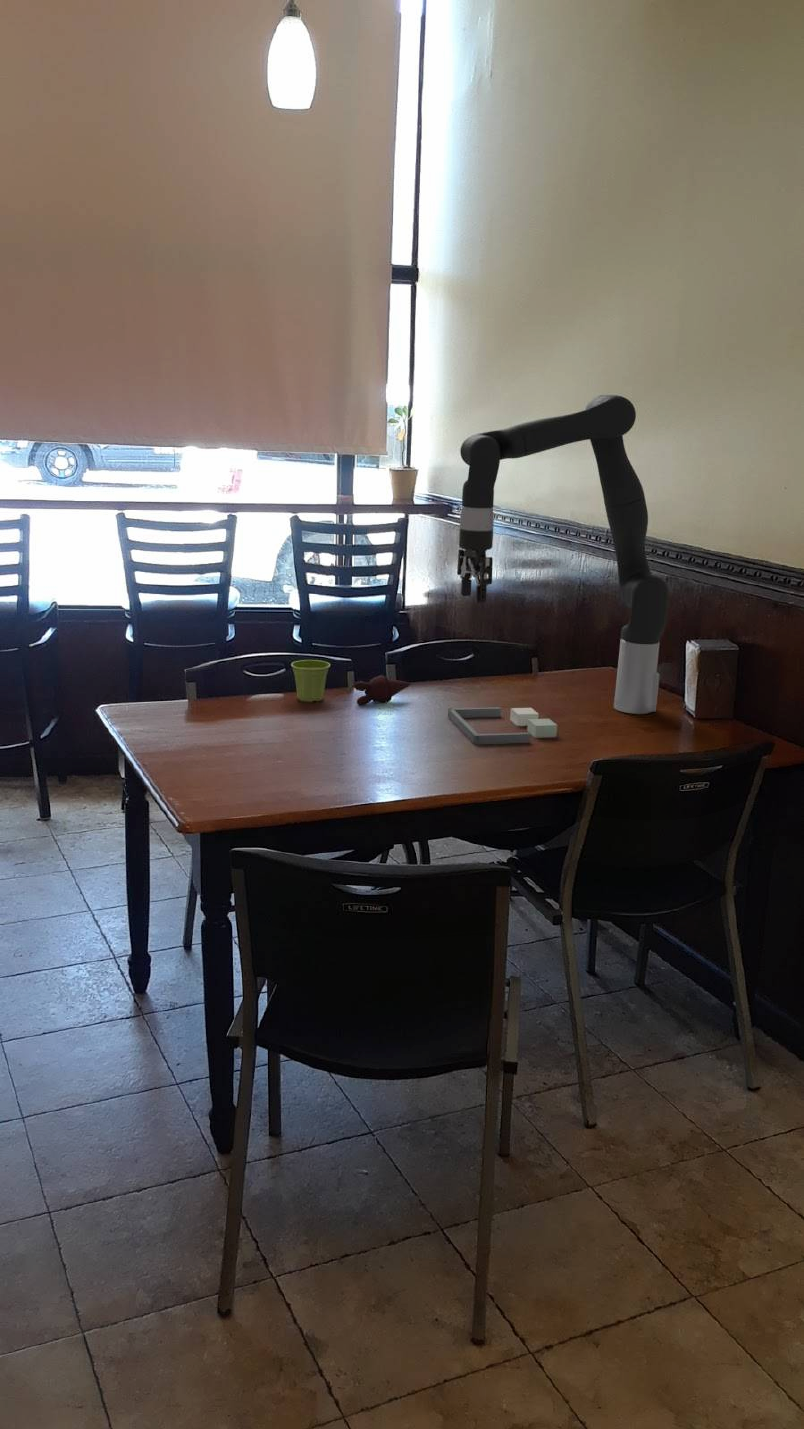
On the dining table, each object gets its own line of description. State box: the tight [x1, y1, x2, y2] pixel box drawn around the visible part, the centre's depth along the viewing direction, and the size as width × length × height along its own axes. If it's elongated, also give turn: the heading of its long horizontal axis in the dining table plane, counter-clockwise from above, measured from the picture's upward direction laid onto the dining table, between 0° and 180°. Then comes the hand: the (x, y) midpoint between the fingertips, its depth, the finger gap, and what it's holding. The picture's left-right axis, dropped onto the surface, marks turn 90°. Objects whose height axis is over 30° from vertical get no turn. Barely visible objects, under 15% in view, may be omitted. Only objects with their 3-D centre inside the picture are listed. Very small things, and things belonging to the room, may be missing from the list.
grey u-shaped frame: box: [447, 706, 531, 746], centre depth 251 cm, size 12×21×2 cm, turn 14°
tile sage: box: [526, 718, 558, 739], centre depth 249 cm, size 5×5×3 cm
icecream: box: [353, 674, 411, 706], centre depth 268 cm, size 7×7×15 cm
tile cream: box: [509, 707, 540, 727], centre depth 257 cm, size 5×5×3 cm
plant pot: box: [290, 659, 331, 703], centre depth 268 cm, size 9×9×9 cm
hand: (473, 599), depth 254 cm, fingers open, 8 cm apart
